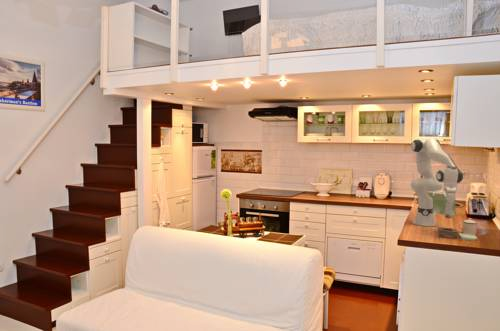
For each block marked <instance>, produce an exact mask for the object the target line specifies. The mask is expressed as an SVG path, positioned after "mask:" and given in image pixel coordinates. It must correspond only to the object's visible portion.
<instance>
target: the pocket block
mask: <svg viewBox="0 0 500 331" xmlns="http://www.w3.org/2000/svg"><path fill="white" fill-rule="evenodd" d="M437 235H438V237H439V238H444V239H452V240H458V239H459V231H458V229H457V228H451V227H442V226H441V227H440V226H437Z"/></svg>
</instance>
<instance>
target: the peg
mask: <svg viewBox="0 0 500 331" xmlns="http://www.w3.org/2000/svg"><path fill="white" fill-rule="evenodd" d="M452 207H453V203H452V204H451V208H448V202H446V211H445V215H444V218H446V219H452V218H453V215H452Z"/></svg>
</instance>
